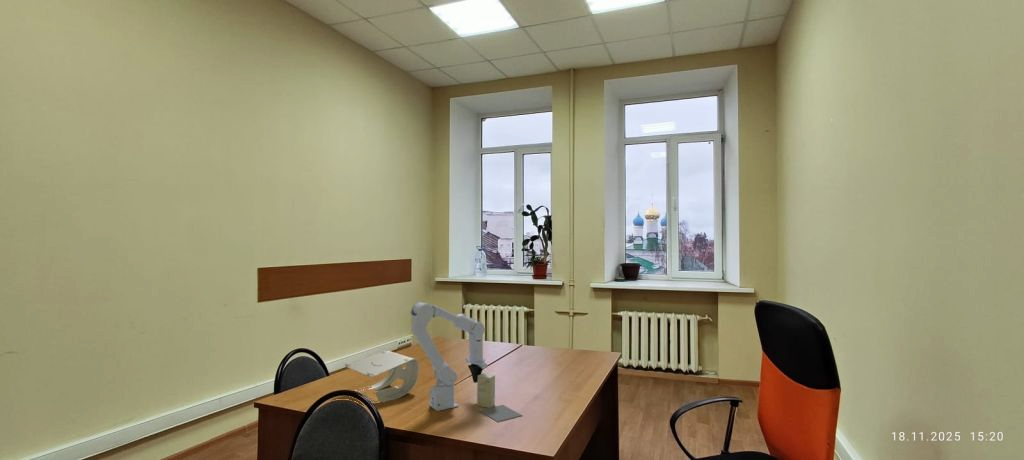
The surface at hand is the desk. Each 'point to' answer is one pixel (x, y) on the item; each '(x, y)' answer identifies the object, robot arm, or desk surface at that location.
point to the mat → (500, 413)
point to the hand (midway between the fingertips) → (476, 382)
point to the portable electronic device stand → (383, 364)
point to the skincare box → (486, 390)
